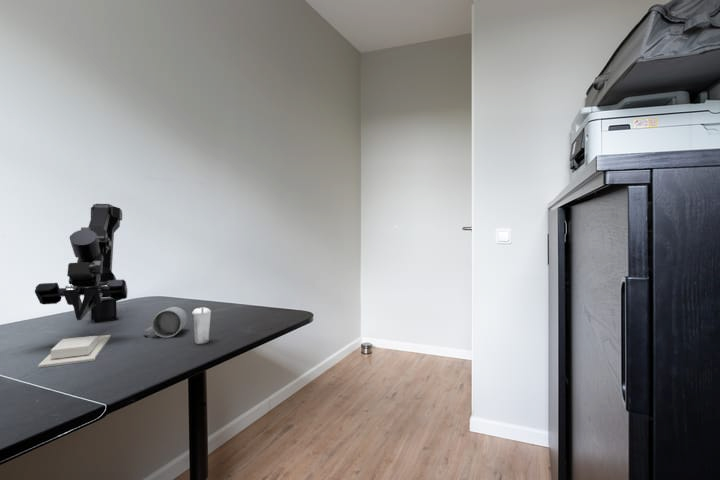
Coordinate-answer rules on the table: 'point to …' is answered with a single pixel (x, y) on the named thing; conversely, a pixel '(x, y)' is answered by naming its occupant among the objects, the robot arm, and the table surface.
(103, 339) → the mat
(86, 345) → the tile
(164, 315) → the ceramic mug
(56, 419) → the table surface
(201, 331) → the milkshake
